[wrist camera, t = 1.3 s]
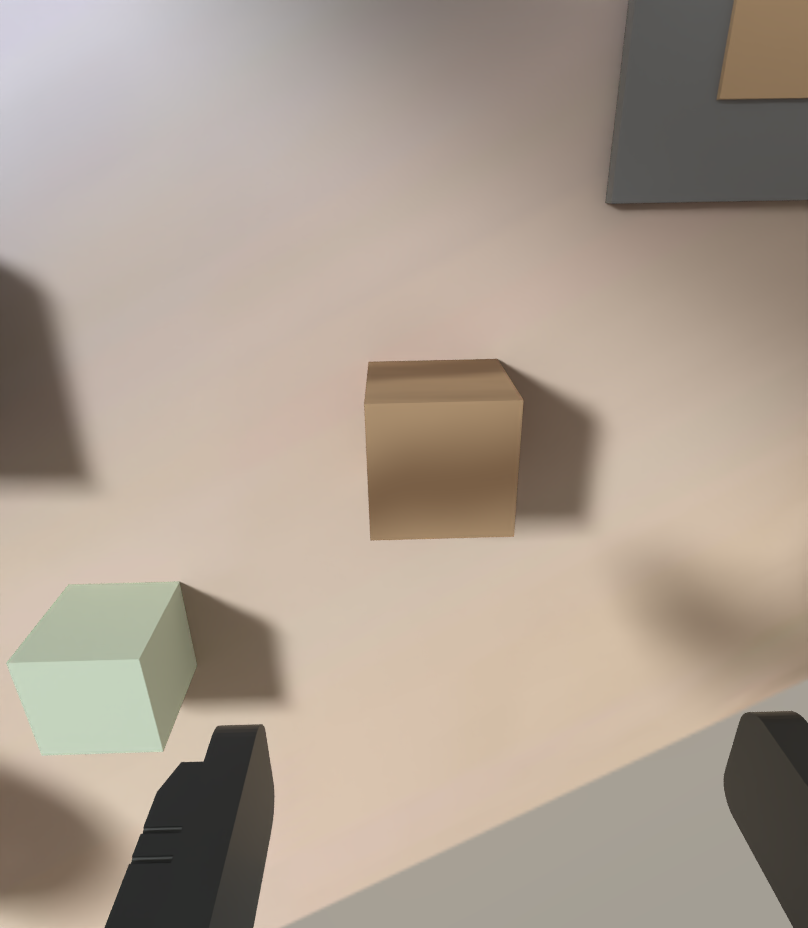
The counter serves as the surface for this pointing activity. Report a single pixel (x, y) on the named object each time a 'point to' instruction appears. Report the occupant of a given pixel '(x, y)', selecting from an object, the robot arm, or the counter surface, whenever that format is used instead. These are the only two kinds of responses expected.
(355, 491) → the counter surface
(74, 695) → the sage green block
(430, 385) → the walnut block
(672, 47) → the card
